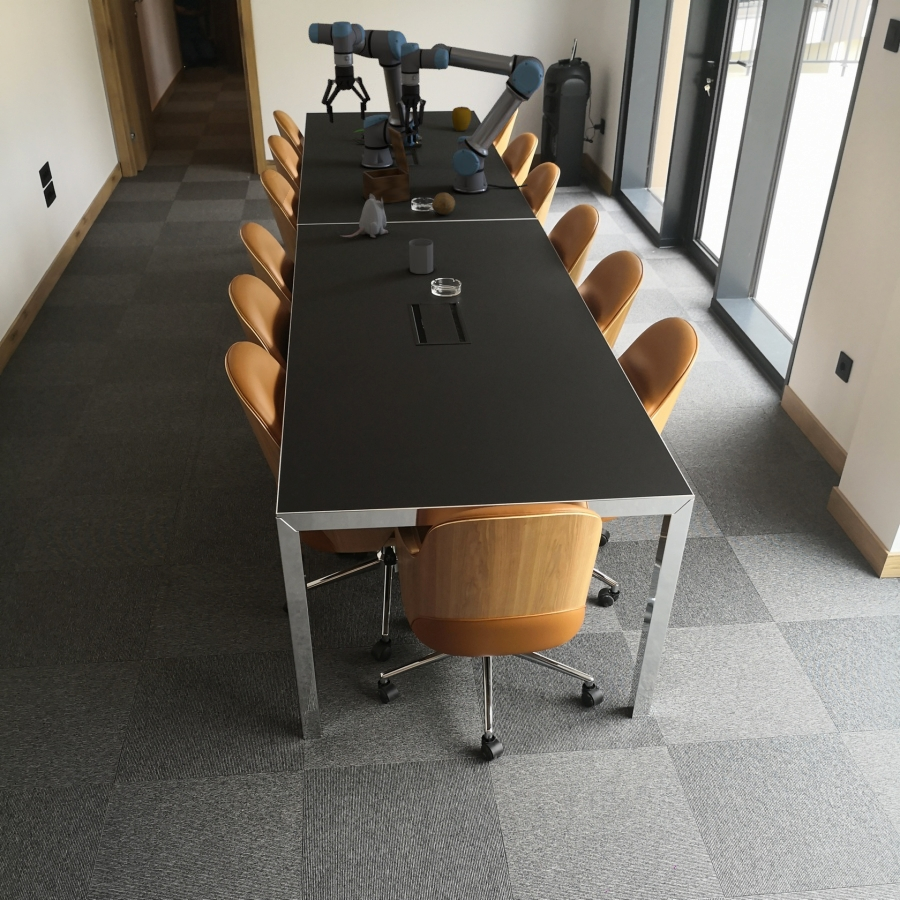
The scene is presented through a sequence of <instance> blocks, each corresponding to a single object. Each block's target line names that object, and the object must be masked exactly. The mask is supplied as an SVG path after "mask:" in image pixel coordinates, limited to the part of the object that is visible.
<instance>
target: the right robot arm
mask: <svg viewBox="0 0 900 900" xmlns="http://www.w3.org/2000/svg"><path fill="white" fill-rule="evenodd" d="M400 57H401V83H402V97H401V100H400V101H399V102H396V105H397V107H398V112H399V118H400V124H401V125H402V126H404V127H405V134H406V135H407V134H409V133H411V127H409V120H410V113H411V111H412V116H413V121H414V126H412V129H413V130H415V131H416V132H417V134H418V135H419V128H420V126H421V125H423V123H424V113H425V106H426V104H427V100H426V99H423V98H421V90H420V89H421V87H420V84H419V83H420V70H438V71H440V70H447V69H448V67H453V68H459V69H466V70H470V71H477V72H482V73H488V74H494V75H500V76H506V77H508V79H507V80H506V81H505V89H504V91H502V93H501V95H500V96H499V98H498V99H497V100H496V102H495V103H494V105H493V106H492V107H491V108H490V110H489V111H488V113H487V114H486V116H485V117H484V118H483V120H482V121H481V122H480V124H479V125H478V126H477V128H476V130H475V131H474V132H473V134H472V135H464V136H463V135H462V136H459V137H458V138H457V150H456V151H455V153H453V155H452V160H451V164H452V167H453V170H454V171H455V173H456V176H455V178H454V182H453V191H455V192H457V193H460V194H467V195H475V194H482V193H485V192H487V191H488V187H493V188H497V189H498V188H499V189H519V188H525V187H528V184H527V183H526V184H522V185H514V186H513V185H512V186H510V185H509V186H506V185H505V186H503V185H497V184H492V183H491V184H490V183H488V182H487V178H486V175H485V170H484V169H485V159H486V158H487V157H488V155H489V148H490V147H491V146H492V144H493V142H494V141H495V140H496V139H497V137H498V136H499V135H500V133H501V132H502V130H503V129H504V128H505V126H506V125H507V124H508V123H509V121H510V119H511V118H512V117H513V116H514V114H515V113H516V111H517V110H518V109H519V108H520V106H521V104H522V103H524V102H528V101H529V100H530V99H531V97H532V96H533V95H534V93H535V92H536V91H538V89H539V88H540V87H541V85H542V83H543V79H544V76H545V67H544V64H543V62H542V61H541V60H540V59H539V58H538V57H536V56H534V55H533V56H532V55H521V54H515V53H513V54H512V55H506V54H505V55H504V54H499V53H492V52H486V51H480V50H475V49H468V48H462V47H456V46H450V45H446V44H445V43H442V42H439V43H436V44H434V45H433V46H432V47H431V48H420V45H419V43H418V42H407V43H403V44H402V45H401V55H400ZM402 103H403V104H404V105H405V120H404V114H403V108H402ZM418 127H419V128H418ZM407 142H408V143H409V144H411V135H410V136H407ZM413 142H414V144H417V143H418V136H417V135H413Z"/></svg>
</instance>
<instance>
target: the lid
mask: <svg viewBox="0 0 900 900" xmlns="http://www.w3.org/2000/svg"><path fill="white" fill-rule="evenodd" d="M388 130H389V134H390V138H391V142H392V145H391V146H392V150H393V154H394V157H395V161H396V166H397V168H400V169H402V170H403V171H405V172H406V173H407V174H410V173H411V172H410V166H409V163H408V158H407V155H406V154H405V153H406V151H405V146H403V142H402V138H405V137H407V136H410V135H416V134H417V132H416V131H415V130H413V129H411V133H409V134H407V135H404V136H401V134H402V133H404V132H405V130H404V131H401V132H398V131H397V130H395V129H393V128H391V127H388Z"/></svg>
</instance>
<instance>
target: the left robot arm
mask: <svg viewBox="0 0 900 900" xmlns="http://www.w3.org/2000/svg"><path fill="white" fill-rule="evenodd" d="M307 33H308V40H309V41H310V43H312V44H316V45H326V46H331V47H333V62H334V63H333V65H335V66H334V74H335V76H334V79H331V78H327V85H326V88H325V91H324V94H323V96H322V99H321V102H320V103H321V104H322V105H323V106H325V107H326V114H327V115H328V117H329V119H328V120H329V123H330V124H334V111H333V105H332V103H333V102H334V101H335V99H336V97H337V96H338V94H339V93H340V92H341V91H342V92H343V91H351V90H352V92H354V94H355V95H356V96H357V97H358V99H359V100H361V101H360V102H359V104H360V106H359V107H360V120H362V121H363V128H362V129H364V131H363V133H364V139H363V140H364V141H363V142H365V144H364V151H363V153H361V157H362V159H361V166H362V167H363V168H366V169H371V170H382V169H389V168H391V167H392V166H394V161H393V159H394V160H396V158H395V156H392V155H391V152H390V151H391V150H390V147H389V146H390V145H391V146H392V142H391V138H390V134H389V130H388V127H391V128H393V129H395V130H397V131H398V132H401V131H404V130H405V127H404V126H402V125H401V124H400V118H399V112H398V107H397V105H396V102H399V101H400V100H401V97H402V83H401V57H400V55H401V45H402V44H403V43H408V42H407V38H406V35H405V34H404V33H403V32H402V31H400V30H393V29H390V30H389V29H388V30H387V29H386V30H385V29H364V27H363V26H362V25H361V24H360V23H350V21H344V20H343V21H335V22H333V23H323V22H322V23H320V22H312V23H311V24H310V25H309V27H308V32H307ZM354 55H357V56H360V57H363V58H367V59H375V60H378V65H379V67H381V68H382V69H383V70H382V71H383V76H384V83H385V88H386V94H387V95H386V96H387V100H388V108H389V113H390V115H389V116H388V115H387V114H384V113H383V114H380V113H379V114H373V115H370V116H366V113H365V112H366V111H367V110H368V109H367V103H368V102H370V101H371V97H370V95H369V93H368V90H367V89H366V87H365V85H364V82H363V78H362V77H361V76H357V77H355V67H354V65H353V64H354ZM355 83H357V85H358V86H359V88H360V90H361V92H360V91H359V89H357V87H356V86H355ZM334 85H336V86H335V87H334V89H333V91H332V88H333V86H334ZM331 91H332V93H331ZM362 94H363V95H362ZM402 108H403V114H404V120H405V105H404V104H403V103H402ZM412 126H414V121H413V113H411V112H410V120H409V127H411V129H412ZM419 128H420V126H419V127H418V129H419ZM404 135H406V134H405V132H404V133H402V134H401V136H404ZM416 135H417V137H418V136H419V133H418V134H416ZM402 142H403V146H404V147H413V145H415V143H414V142H413V135H411V144H409V143H408V142H407V137H405V138H402ZM405 154H406V156H407V155H412V151H408V152H405Z"/></svg>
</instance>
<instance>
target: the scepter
mask: <svg viewBox="0 0 900 900" xmlns="http://www.w3.org/2000/svg"><path fill="white" fill-rule="evenodd" d="M358 132H363V133H361V134H360V135H361V136H362V137H361V140H364V128H359V129H357V130H354V131H352V134H353V133H358ZM352 141H353V142H355V143H357V144H359V145H365V142H364V141H359V140H356V139H352Z"/></svg>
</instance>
